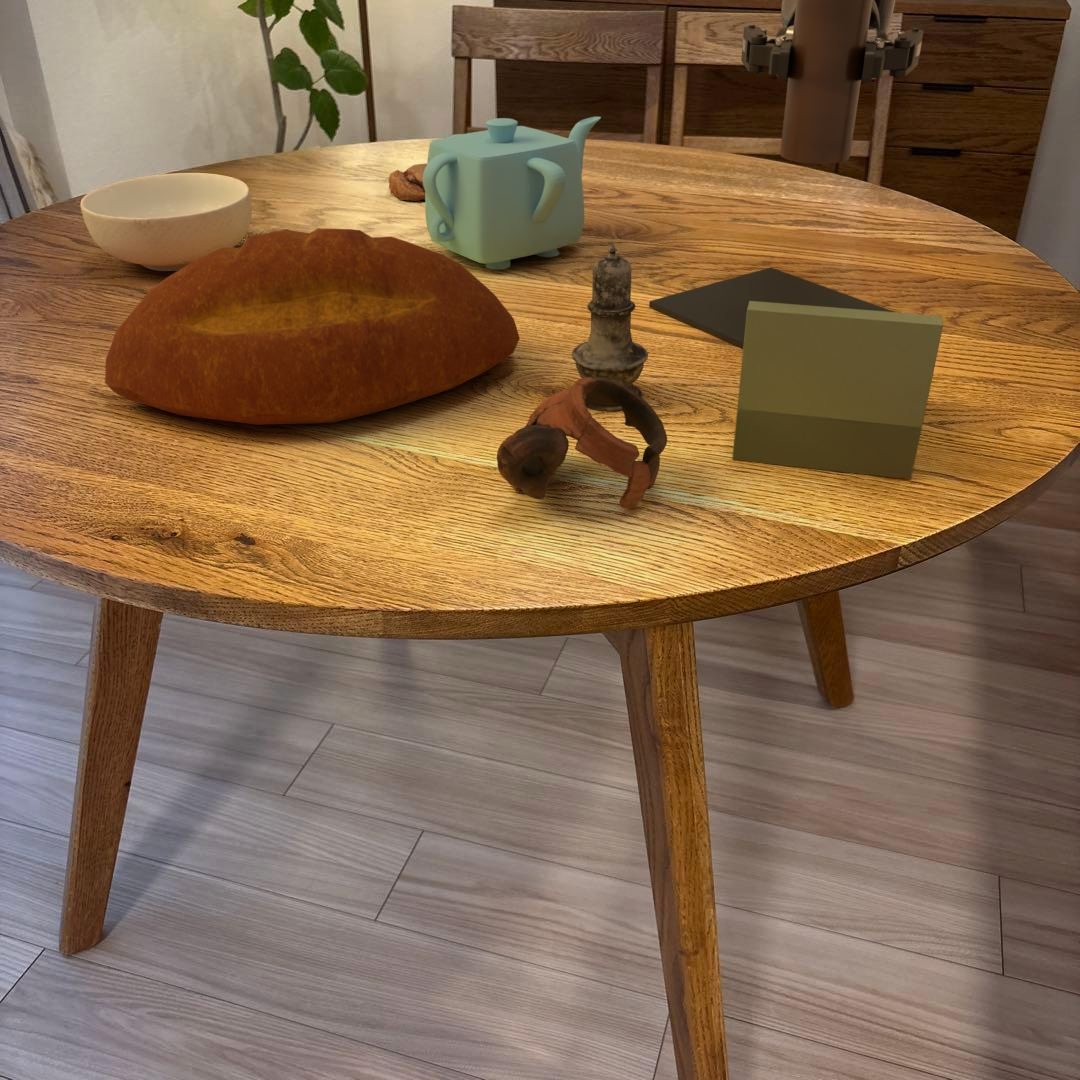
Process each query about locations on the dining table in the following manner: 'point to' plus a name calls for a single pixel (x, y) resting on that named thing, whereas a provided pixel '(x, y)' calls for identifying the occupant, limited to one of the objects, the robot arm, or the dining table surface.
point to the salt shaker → (611, 329)
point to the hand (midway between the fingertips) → (825, 67)
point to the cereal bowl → (168, 218)
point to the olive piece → (834, 387)
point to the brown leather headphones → (583, 439)
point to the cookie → (408, 183)
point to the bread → (308, 330)
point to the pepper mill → (824, 79)
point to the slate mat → (728, 301)
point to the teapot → (506, 191)
